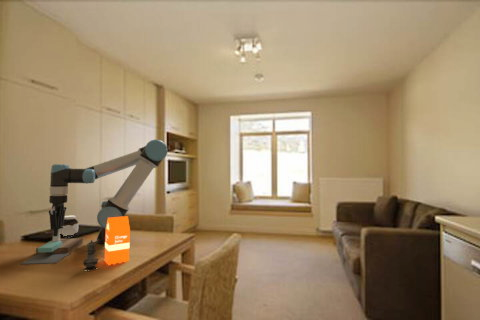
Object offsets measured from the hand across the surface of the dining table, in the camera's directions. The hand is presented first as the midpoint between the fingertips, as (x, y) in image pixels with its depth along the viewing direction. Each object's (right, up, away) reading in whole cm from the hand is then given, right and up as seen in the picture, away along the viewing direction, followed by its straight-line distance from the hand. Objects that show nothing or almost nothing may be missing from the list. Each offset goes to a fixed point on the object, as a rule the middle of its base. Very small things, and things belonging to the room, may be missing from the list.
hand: (56, 242), depth 137 cm
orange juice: (+36, -5, -12) cm, 38 cm away
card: (+1, 0, -6) cm, 6 cm away
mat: (+3, -4, -11) cm, 12 cm away
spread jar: (-14, -6, +32) cm, 35 cm away
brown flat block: (-1, -5, +4) cm, 7 cm away
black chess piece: (+30, -5, -23) cm, 38 cm away
